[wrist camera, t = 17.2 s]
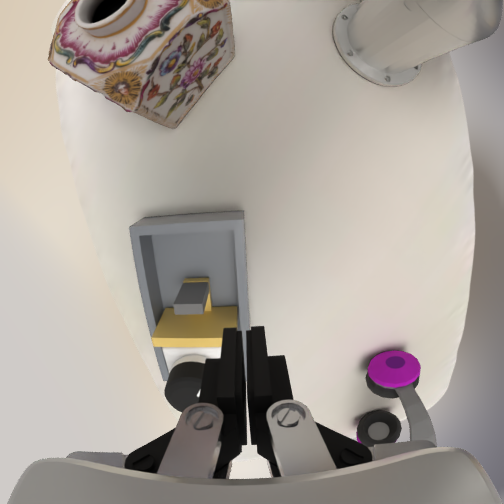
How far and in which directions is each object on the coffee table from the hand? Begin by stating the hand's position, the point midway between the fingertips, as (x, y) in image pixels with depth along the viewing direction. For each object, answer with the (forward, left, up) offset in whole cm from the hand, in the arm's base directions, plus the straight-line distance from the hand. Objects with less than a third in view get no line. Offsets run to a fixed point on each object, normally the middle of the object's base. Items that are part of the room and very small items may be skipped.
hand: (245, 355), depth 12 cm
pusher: (+8, -6, -22) cm, 24 cm away
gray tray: (+9, -6, -23) cm, 25 cm away
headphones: (+30, +22, -23) cm, 44 cm away
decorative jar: (-20, -8, -23) cm, 32 cm away
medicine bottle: (+14, -6, -22) cm, 27 cm away
